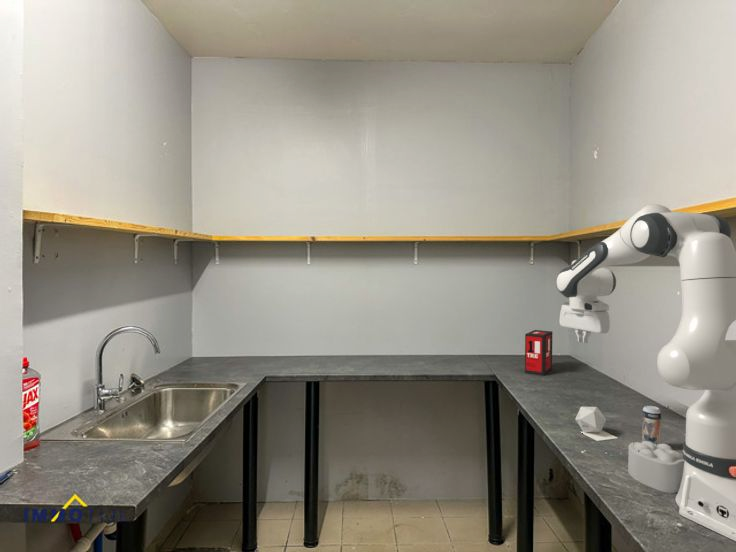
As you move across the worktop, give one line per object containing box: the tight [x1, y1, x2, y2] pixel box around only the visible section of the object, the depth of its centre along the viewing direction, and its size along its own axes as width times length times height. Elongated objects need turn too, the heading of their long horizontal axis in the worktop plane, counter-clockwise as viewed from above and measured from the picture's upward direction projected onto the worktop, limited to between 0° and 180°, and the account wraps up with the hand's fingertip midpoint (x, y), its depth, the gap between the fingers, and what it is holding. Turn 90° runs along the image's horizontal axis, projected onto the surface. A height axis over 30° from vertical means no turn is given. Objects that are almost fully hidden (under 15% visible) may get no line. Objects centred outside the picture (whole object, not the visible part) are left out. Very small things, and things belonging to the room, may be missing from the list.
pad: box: [580, 430, 619, 442], centre depth 143 cm, size 8×8×1 cm
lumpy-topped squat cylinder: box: [627, 441, 684, 494], centre depth 115 cm, size 10×13×9 cm
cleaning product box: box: [524, 329, 553, 377], centre depth 226 cm, size 16×9×20 cm, turn 143°
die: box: [575, 406, 607, 433], centre depth 146 cm, size 8×9×10 cm
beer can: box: [641, 405, 662, 445], centre depth 134 cm, size 5×5×12 cm
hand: (582, 342), depth 157 cm, fingers closed
